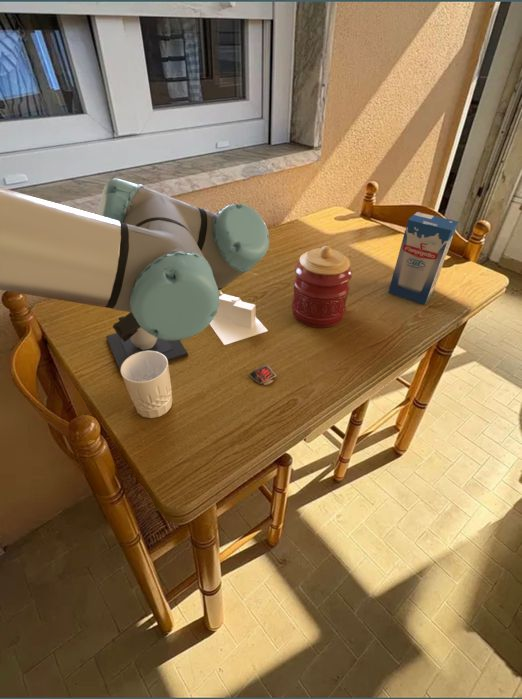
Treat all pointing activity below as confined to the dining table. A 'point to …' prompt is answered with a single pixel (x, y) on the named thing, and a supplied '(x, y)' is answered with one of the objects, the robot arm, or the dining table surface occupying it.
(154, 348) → the rubber pad
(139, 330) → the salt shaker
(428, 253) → the milk carton
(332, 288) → the kitchen canister
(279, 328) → the dining table surface
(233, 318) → the napkin holder
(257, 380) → the matchbox
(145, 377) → the white cup
